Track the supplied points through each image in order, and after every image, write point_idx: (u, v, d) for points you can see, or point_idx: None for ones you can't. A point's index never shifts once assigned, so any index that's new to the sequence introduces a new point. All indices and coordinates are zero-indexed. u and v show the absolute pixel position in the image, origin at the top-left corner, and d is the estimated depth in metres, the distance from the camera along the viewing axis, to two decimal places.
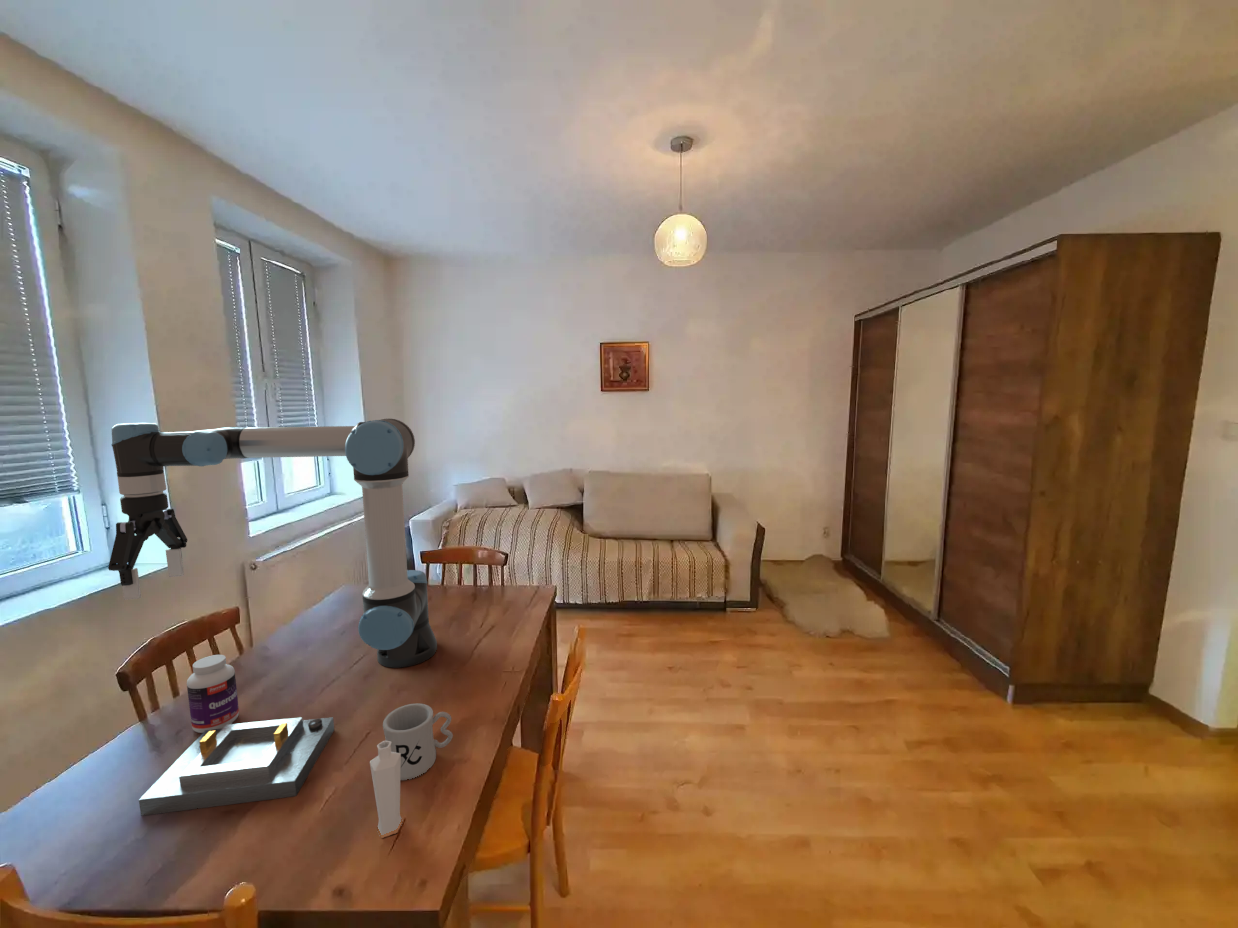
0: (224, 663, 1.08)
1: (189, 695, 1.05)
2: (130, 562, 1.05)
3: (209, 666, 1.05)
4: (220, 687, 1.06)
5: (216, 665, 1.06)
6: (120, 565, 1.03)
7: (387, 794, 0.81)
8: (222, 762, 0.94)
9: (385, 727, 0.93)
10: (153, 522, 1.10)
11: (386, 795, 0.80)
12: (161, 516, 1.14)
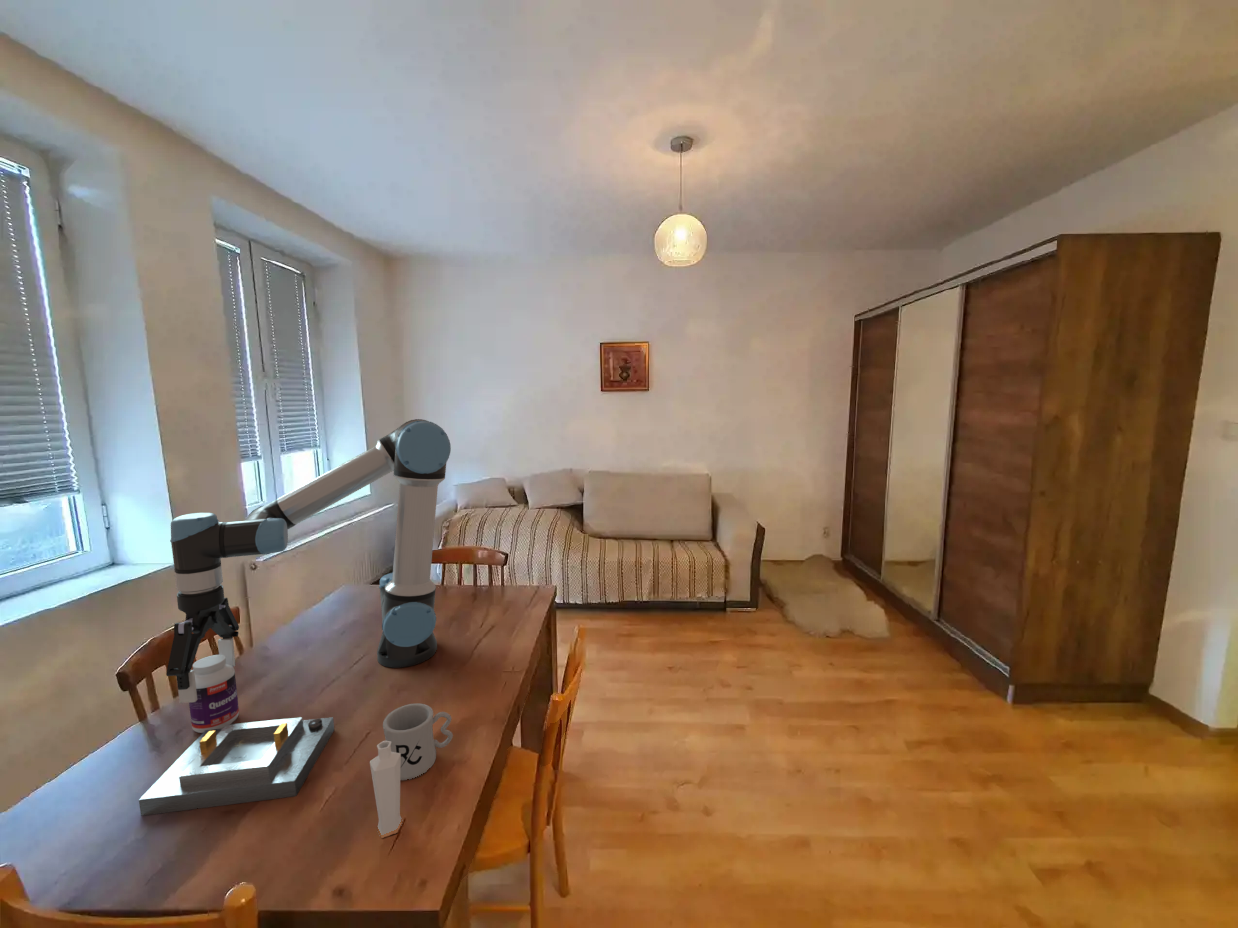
0: (224, 663, 1.08)
1: None
2: (188, 665, 1.00)
3: (209, 666, 1.05)
4: (220, 687, 1.06)
5: (216, 665, 1.06)
6: (178, 670, 0.97)
7: (387, 794, 0.81)
8: (222, 762, 0.94)
9: (385, 727, 0.93)
10: (209, 618, 1.05)
11: (386, 795, 0.80)
12: (216, 608, 1.09)
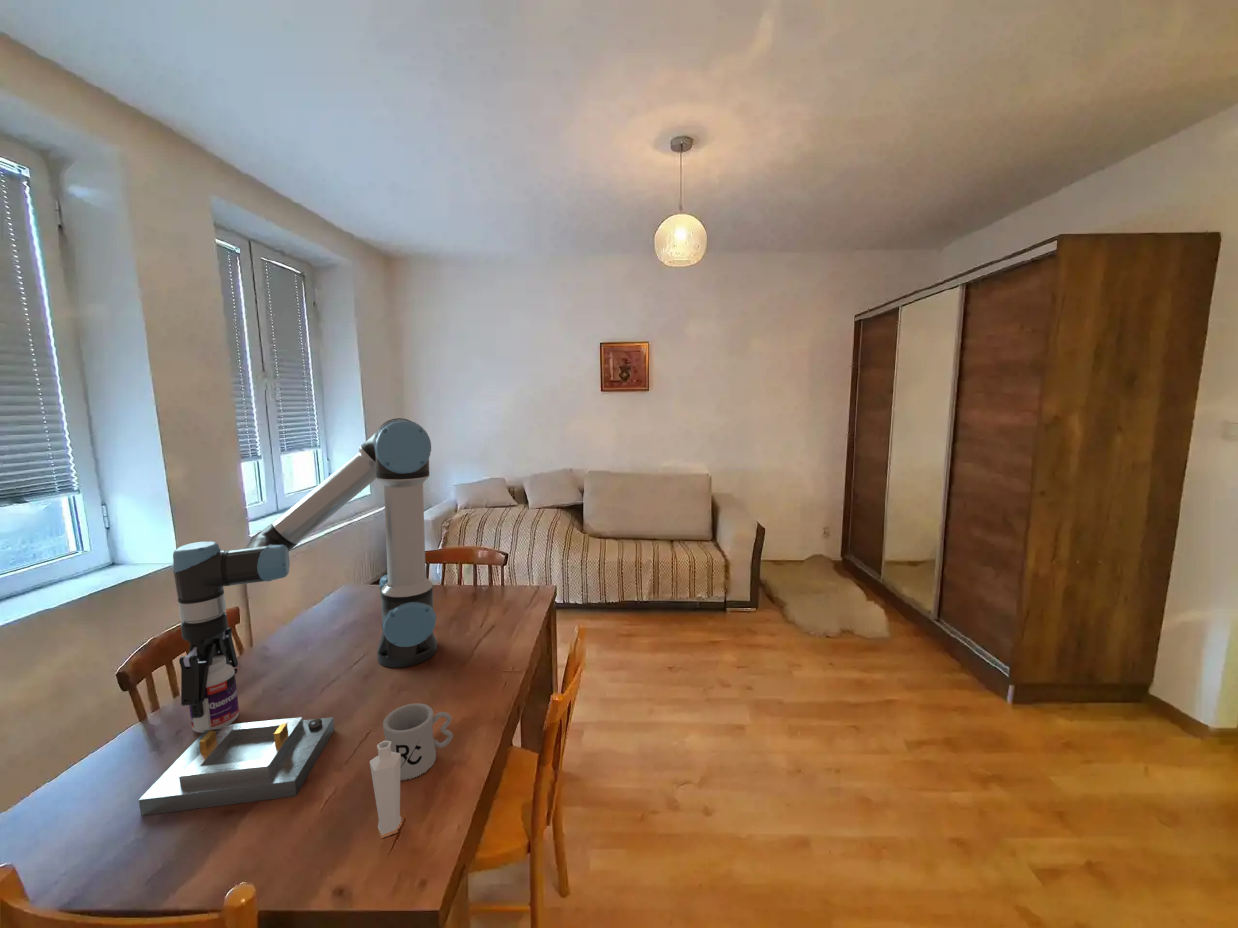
0: (224, 663, 1.08)
1: None
2: (201, 695, 1.03)
3: (209, 666, 1.05)
4: (220, 687, 1.06)
5: (216, 665, 1.06)
6: (193, 700, 1.01)
7: (387, 794, 0.81)
8: (222, 762, 0.94)
9: (385, 727, 0.93)
10: (213, 645, 1.06)
11: (386, 794, 0.80)
12: (220, 635, 1.10)
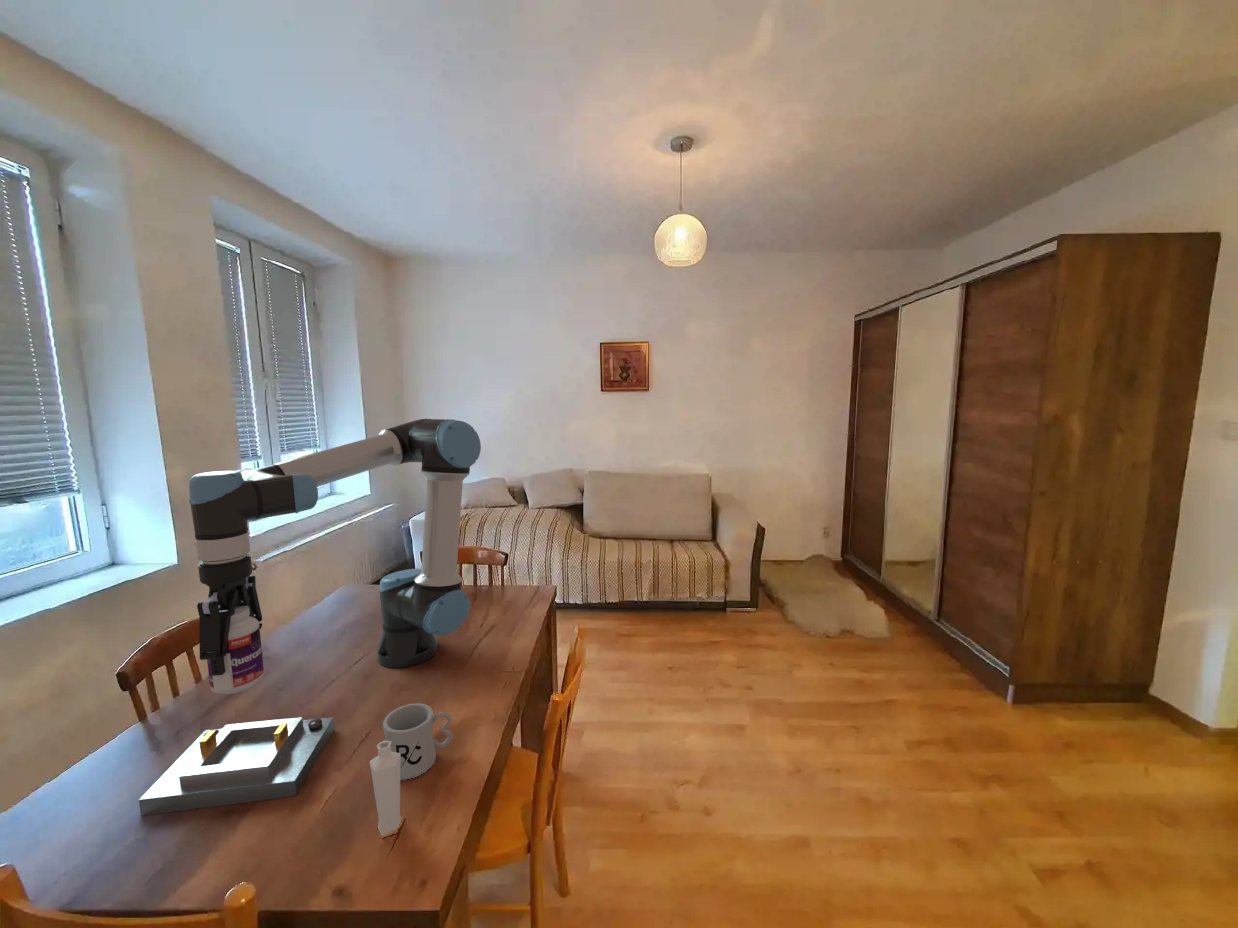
0: (247, 614, 0.93)
1: None
2: (222, 648, 0.88)
3: None
4: (243, 641, 0.91)
5: (238, 615, 0.91)
6: (213, 653, 0.85)
7: (387, 794, 0.81)
8: (222, 762, 0.94)
9: (385, 727, 0.93)
10: (236, 592, 0.91)
11: (386, 795, 0.80)
12: (243, 582, 0.94)
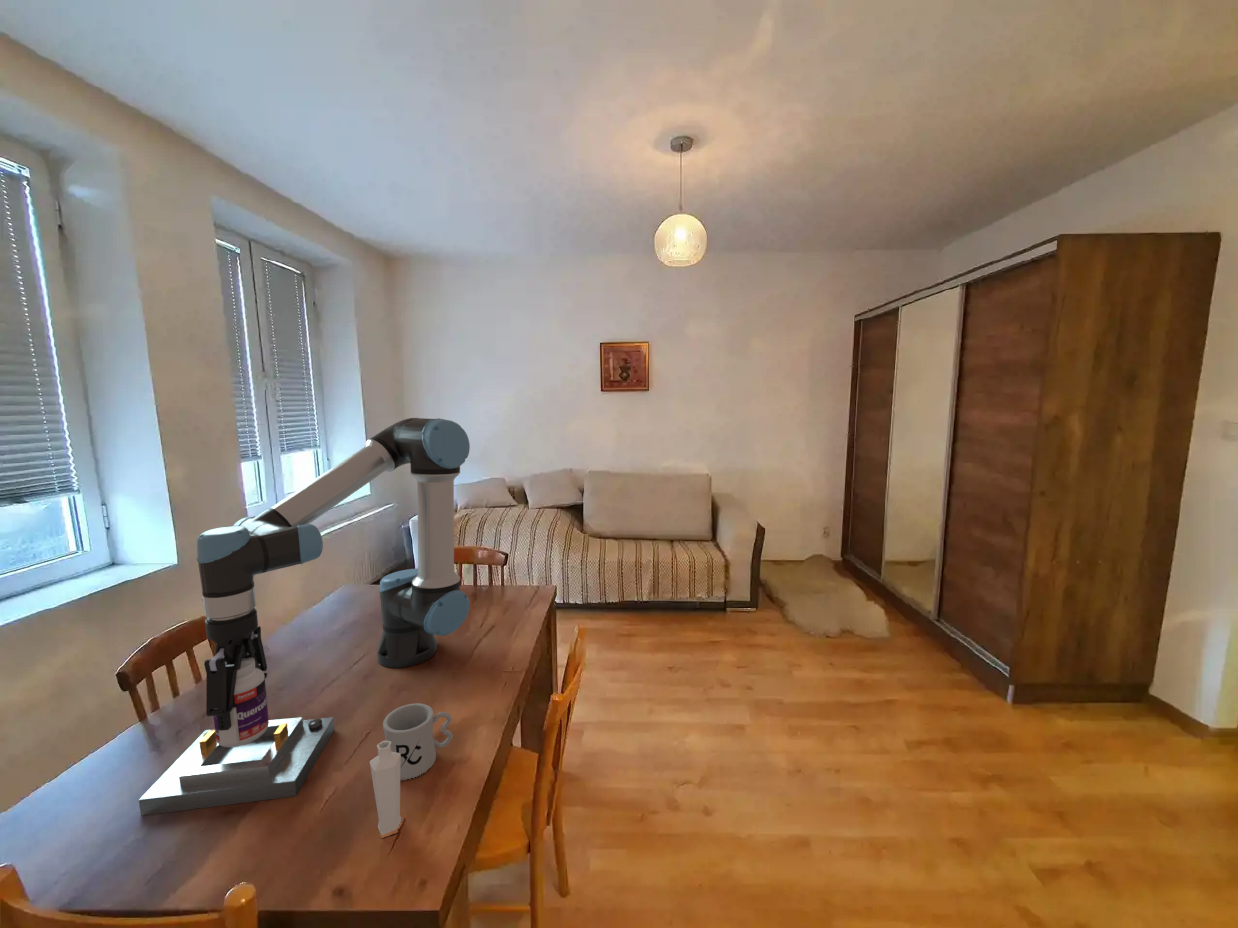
0: (253, 667, 0.94)
1: None
2: (228, 704, 0.89)
3: None
4: (249, 695, 0.92)
5: (244, 669, 0.92)
6: (220, 710, 0.87)
7: (387, 794, 0.81)
8: (222, 762, 0.94)
9: (385, 727, 0.93)
10: (242, 646, 0.92)
11: (386, 795, 0.80)
12: (248, 634, 0.96)
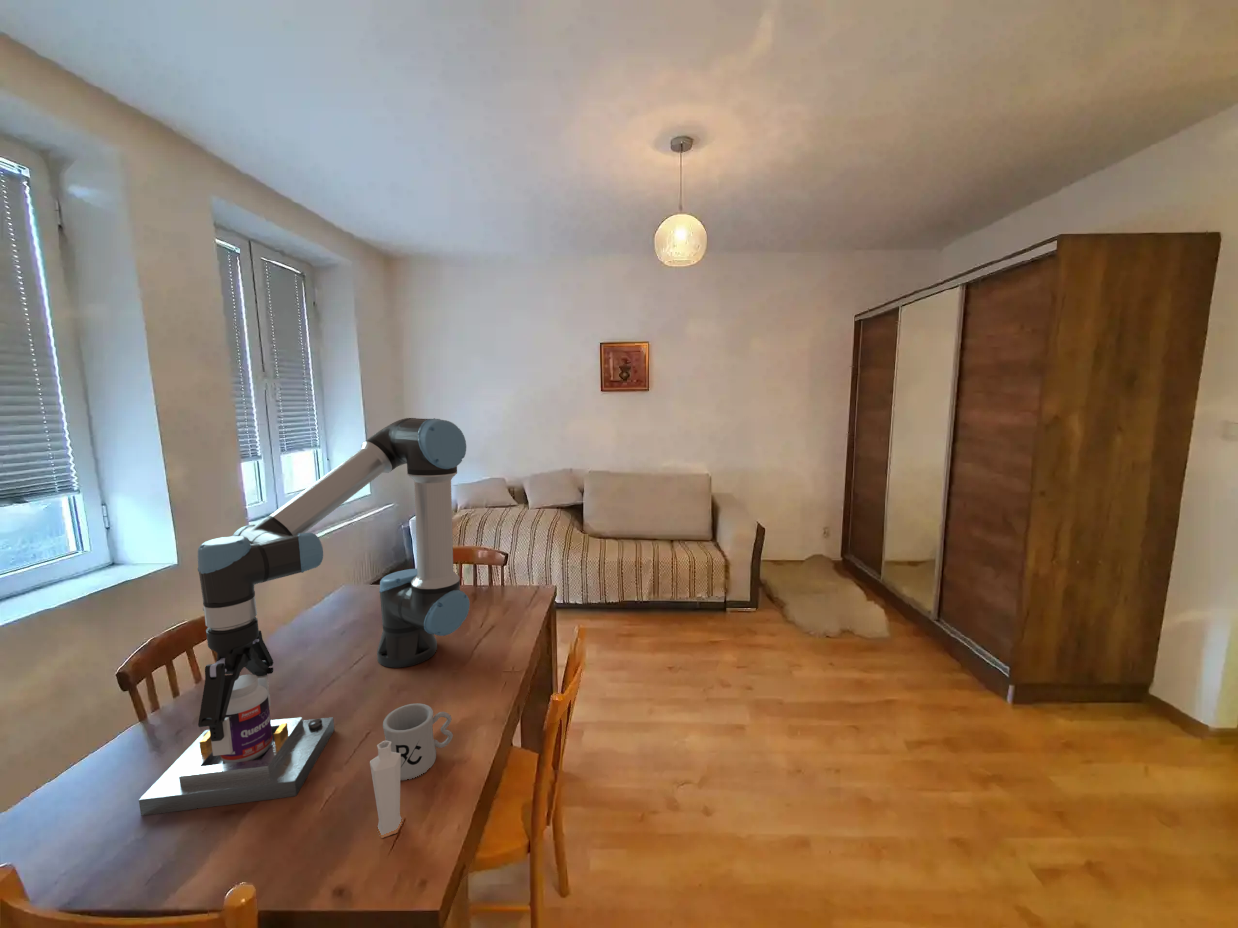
0: (256, 684, 0.95)
1: None
2: (222, 713, 0.87)
3: (240, 689, 0.92)
4: (253, 712, 0.93)
5: (248, 687, 0.93)
6: (212, 720, 0.85)
7: (387, 794, 0.81)
8: (222, 762, 0.94)
9: (385, 727, 0.93)
10: (243, 656, 0.92)
11: (386, 795, 0.80)
12: (249, 644, 0.96)
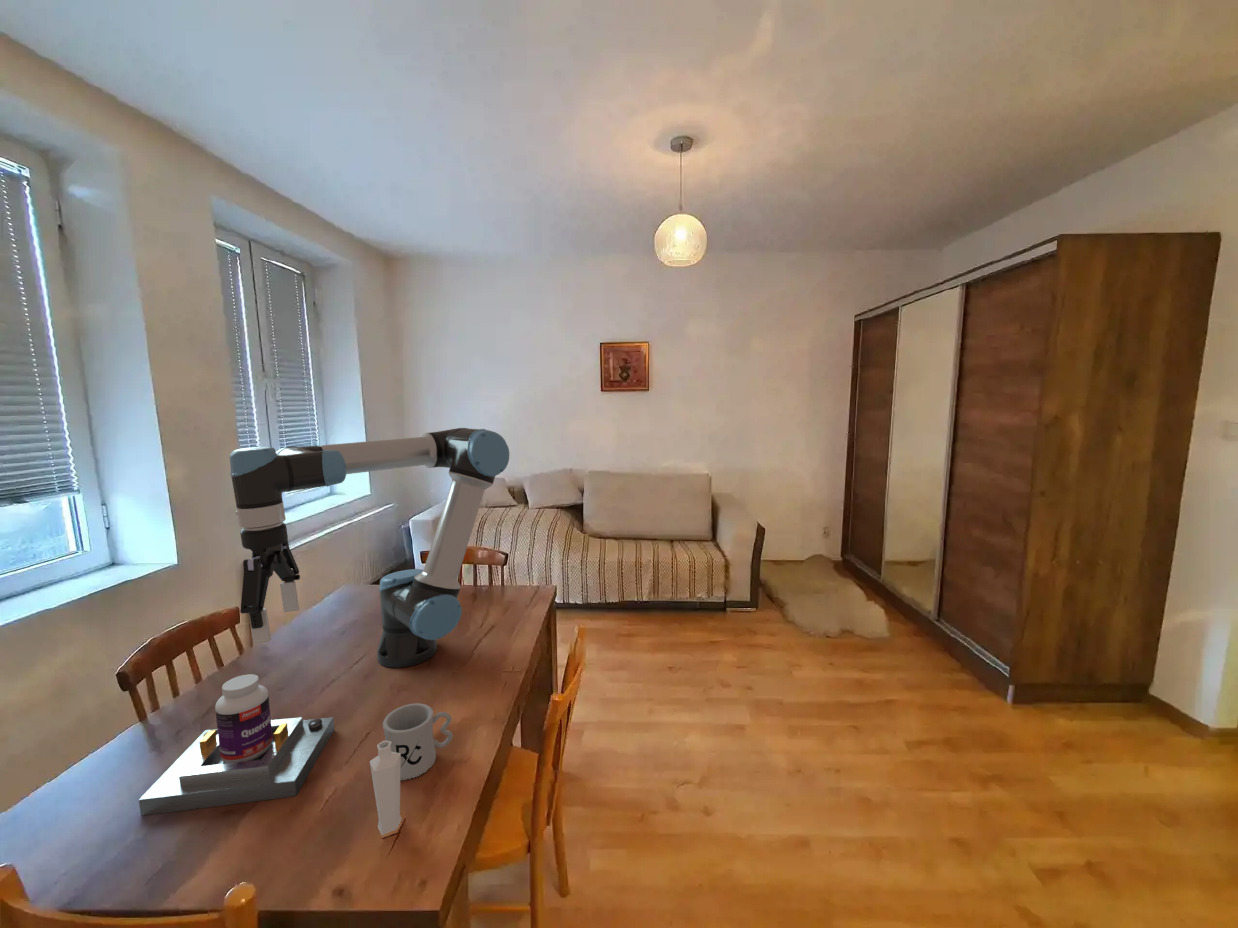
0: (257, 684, 0.95)
1: (218, 722, 0.92)
2: (260, 603, 0.95)
3: (241, 689, 0.92)
4: (253, 712, 0.93)
5: (249, 687, 0.93)
6: (253, 607, 0.93)
7: (387, 794, 0.81)
8: (222, 762, 0.94)
9: (385, 727, 0.93)
10: (275, 556, 1.00)
11: (386, 795, 0.80)
12: (279, 548, 1.04)
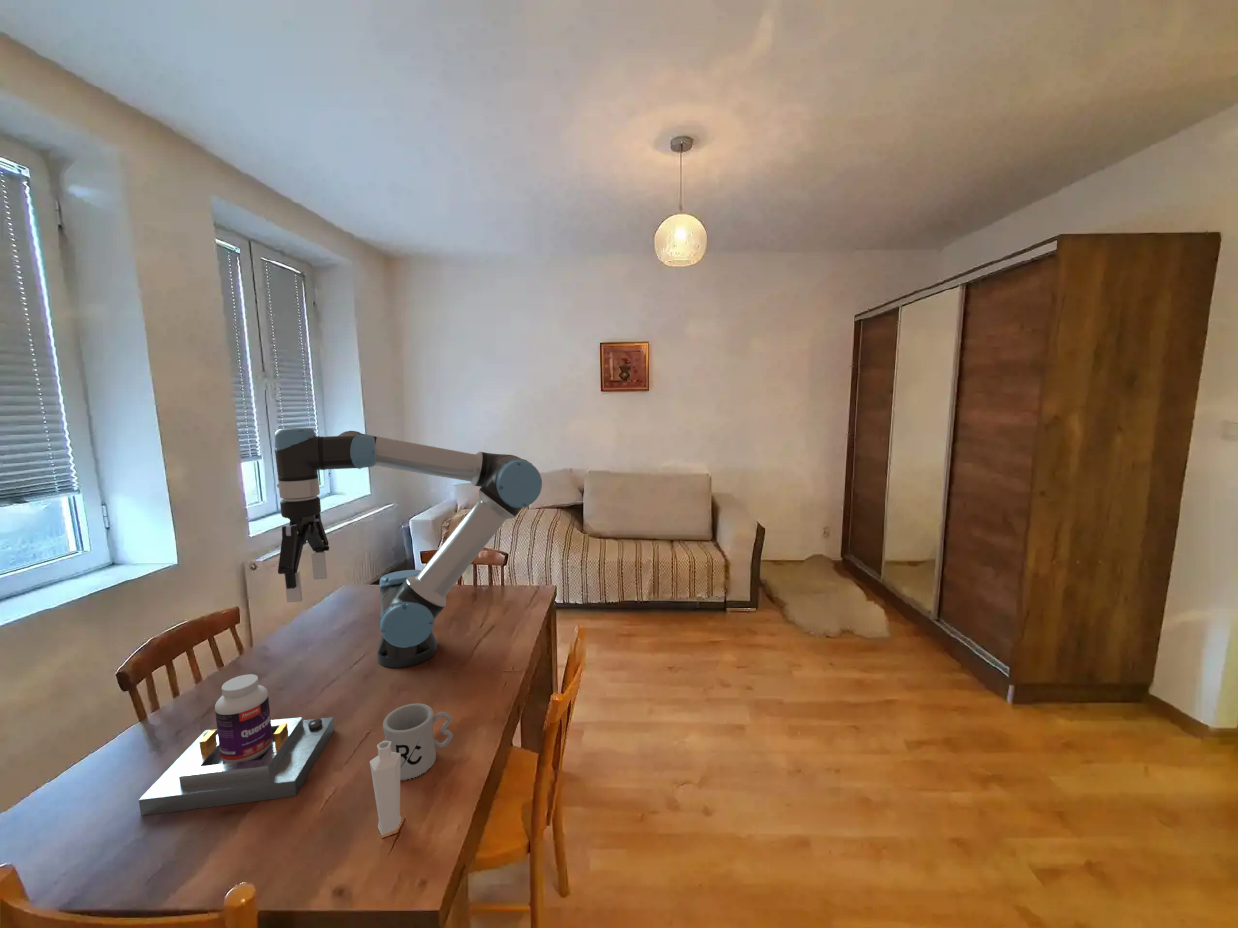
0: (257, 684, 0.95)
1: (218, 722, 0.92)
2: (295, 565, 1.06)
3: (240, 689, 0.92)
4: (253, 712, 0.93)
5: (248, 687, 0.93)
6: (289, 568, 1.04)
7: (387, 794, 0.81)
8: (222, 762, 0.94)
9: (385, 727, 0.93)
10: (309, 526, 1.12)
11: (386, 795, 0.80)
12: (312, 520, 1.16)
